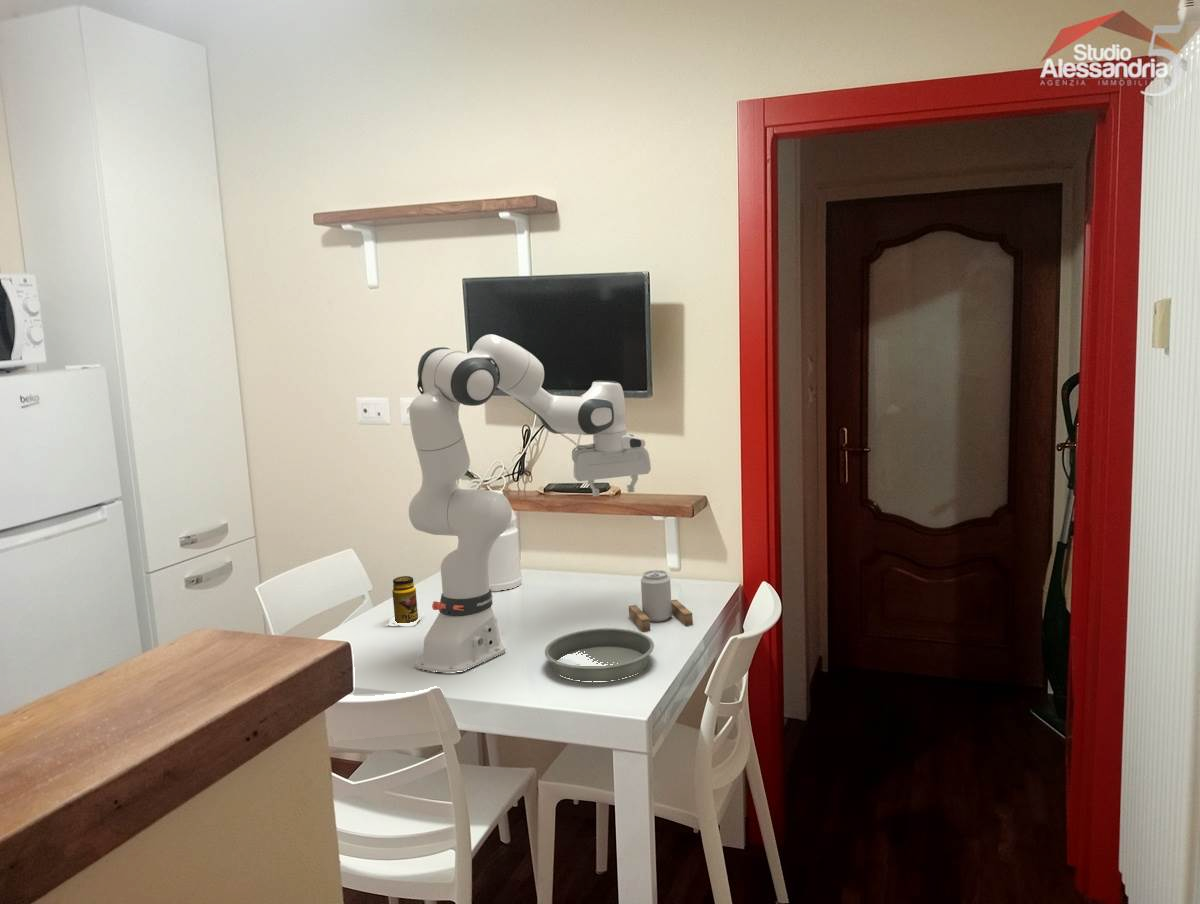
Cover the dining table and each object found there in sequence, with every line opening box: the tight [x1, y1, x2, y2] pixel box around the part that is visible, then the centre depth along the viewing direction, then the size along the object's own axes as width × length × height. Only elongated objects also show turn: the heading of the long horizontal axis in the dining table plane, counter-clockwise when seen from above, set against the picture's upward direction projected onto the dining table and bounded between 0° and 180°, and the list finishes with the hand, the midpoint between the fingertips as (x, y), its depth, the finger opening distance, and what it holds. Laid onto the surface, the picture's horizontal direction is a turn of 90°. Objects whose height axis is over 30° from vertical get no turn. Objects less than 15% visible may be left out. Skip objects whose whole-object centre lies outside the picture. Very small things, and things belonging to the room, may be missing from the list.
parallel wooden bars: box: [628, 599, 694, 633], centre depth 239 cm, size 12×13×3 cm
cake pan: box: [544, 627, 655, 682], centre depth 212 cm, size 25×25×4 cm
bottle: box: [488, 489, 522, 592], centre depth 276 cm, size 14×14×28 cm
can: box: [640, 569, 673, 623], centre depth 241 cm, size 8×8×12 cm
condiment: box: [391, 575, 419, 623], centre depth 249 cm, size 7×8×12 cm
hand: (613, 494), depth 248 cm, fingers open, 8 cm apart
